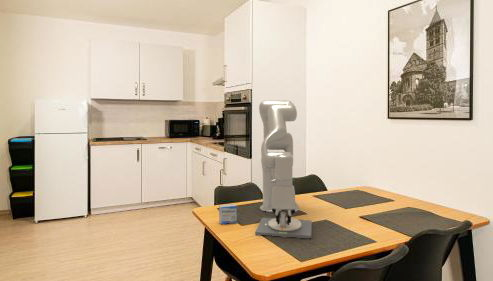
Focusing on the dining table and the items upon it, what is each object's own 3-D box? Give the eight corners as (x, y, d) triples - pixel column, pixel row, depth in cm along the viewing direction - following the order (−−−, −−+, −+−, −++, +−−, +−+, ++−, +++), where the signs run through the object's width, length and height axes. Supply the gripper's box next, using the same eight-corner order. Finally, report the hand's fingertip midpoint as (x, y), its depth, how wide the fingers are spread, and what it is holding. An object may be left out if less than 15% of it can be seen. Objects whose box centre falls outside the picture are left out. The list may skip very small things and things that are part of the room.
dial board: (262, 220, 160) (262, 217, 160) (311, 223, 155) (311, 220, 155) (255, 235, 141) (255, 231, 141) (311, 239, 136) (311, 235, 136)
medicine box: (220, 224, 154) (220, 207, 154) (219, 221, 159) (218, 204, 158) (236, 223, 157) (236, 205, 156) (234, 220, 161) (234, 203, 160)
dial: (271, 219, 157) (271, 203, 156) (302, 221, 153) (302, 205, 153) (264, 231, 140) (264, 214, 140) (299, 234, 137) (299, 216, 136)
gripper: (263, 183, 138) (263, 225, 140) (302, 185, 135) (302, 228, 136) (265, 180, 146) (266, 219, 147) (303, 181, 142) (303, 222, 144)
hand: (283, 223), depth 142 cm, fingers open, 3 cm apart
